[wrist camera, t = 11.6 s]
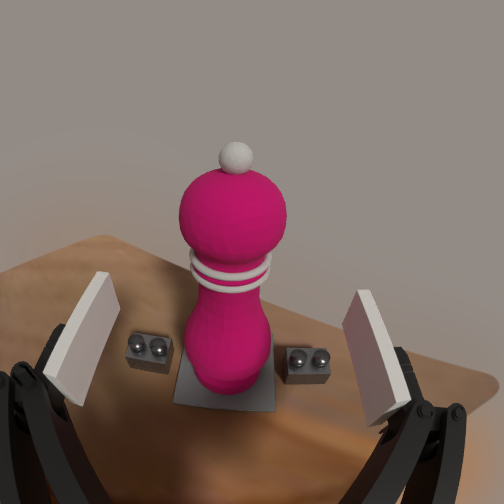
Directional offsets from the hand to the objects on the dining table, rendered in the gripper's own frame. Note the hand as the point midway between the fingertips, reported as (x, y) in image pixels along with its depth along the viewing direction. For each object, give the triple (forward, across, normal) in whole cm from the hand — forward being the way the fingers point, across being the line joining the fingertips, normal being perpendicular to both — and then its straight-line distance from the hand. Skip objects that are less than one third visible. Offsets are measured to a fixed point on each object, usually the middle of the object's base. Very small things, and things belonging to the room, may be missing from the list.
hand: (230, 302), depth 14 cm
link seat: (+4, 0, -13) cm, 14 cm away
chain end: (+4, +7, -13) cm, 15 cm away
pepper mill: (+4, 0, -13) cm, 14 cm away
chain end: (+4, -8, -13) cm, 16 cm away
